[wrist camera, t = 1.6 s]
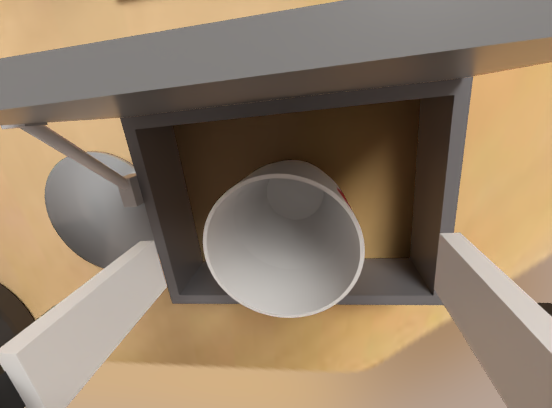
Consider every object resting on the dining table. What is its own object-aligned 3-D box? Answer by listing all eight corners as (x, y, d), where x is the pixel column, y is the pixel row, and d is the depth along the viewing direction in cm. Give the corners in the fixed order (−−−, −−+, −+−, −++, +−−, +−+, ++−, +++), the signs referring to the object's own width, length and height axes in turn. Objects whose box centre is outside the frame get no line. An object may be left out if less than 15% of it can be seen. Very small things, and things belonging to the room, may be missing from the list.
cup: (331, 243, 24) (342, 331, 15) (242, 226, 25) (199, 300, 15) (354, 153, 21) (385, 191, 12) (252, 136, 22) (206, 160, 12)
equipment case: (188, 272, 27) (7, 513, 11) (147, 104, 22) (-305, 105, 6) (418, 269, 24) (635, 611, 8) (434, 69, 18) (1210, -160, 2)
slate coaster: (76, 268, 29) (71, 271, 28) (31, 156, 25) (24, 158, 24) (180, 266, 27) (177, 270, 26) (149, 145, 23) (145, 146, 23)
